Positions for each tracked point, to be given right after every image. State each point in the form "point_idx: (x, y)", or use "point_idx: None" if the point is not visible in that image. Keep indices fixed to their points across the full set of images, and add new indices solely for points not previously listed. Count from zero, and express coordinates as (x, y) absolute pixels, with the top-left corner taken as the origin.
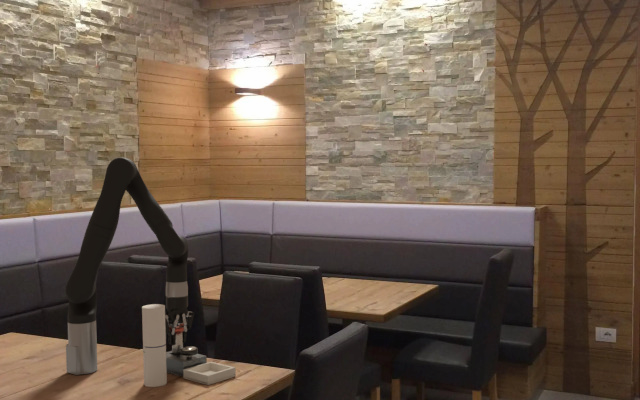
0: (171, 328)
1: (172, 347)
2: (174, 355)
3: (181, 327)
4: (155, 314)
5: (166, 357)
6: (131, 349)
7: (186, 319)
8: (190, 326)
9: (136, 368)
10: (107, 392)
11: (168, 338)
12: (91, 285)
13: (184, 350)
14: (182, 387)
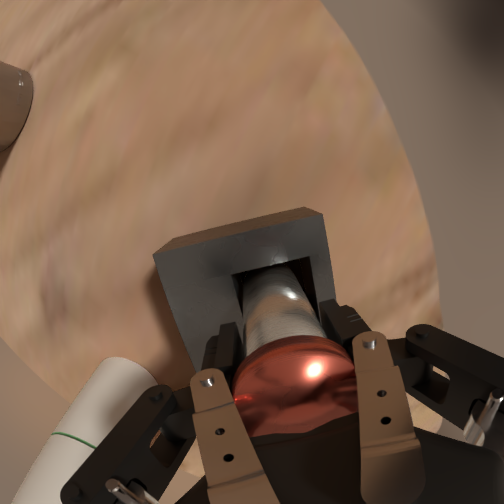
0: (236, 405)
1: (243, 316)
2: (238, 328)
3: (339, 412)
4: None
5: (187, 336)
6: None
7: (463, 381)
8: (424, 384)
9: (119, 167)
10: (24, 353)
11: (204, 360)
12: None
13: None
14: None
